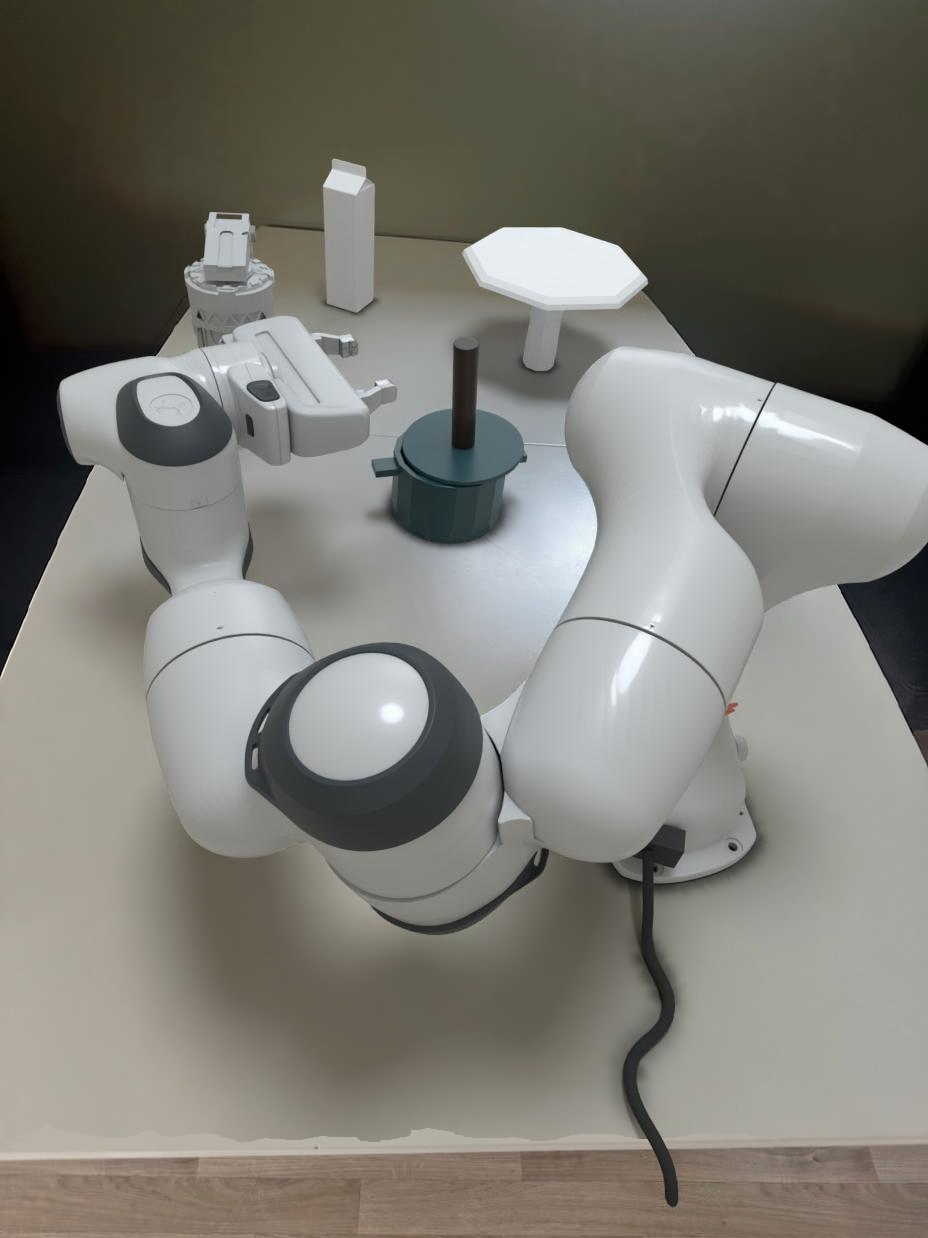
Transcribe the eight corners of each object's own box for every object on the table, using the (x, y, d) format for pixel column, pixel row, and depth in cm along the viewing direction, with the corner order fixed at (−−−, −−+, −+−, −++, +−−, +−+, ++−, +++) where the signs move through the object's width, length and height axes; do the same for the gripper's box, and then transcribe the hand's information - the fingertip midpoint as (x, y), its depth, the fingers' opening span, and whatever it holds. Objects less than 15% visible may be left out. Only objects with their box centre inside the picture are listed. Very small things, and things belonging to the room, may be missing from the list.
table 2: (621, 424, 119) (650, 317, 107) (437, 393, 121) (446, 284, 108) (624, 337, 139) (650, 238, 127) (466, 311, 140) (476, 210, 128)
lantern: (285, 444, 108) (269, 258, 90) (205, 444, 106) (173, 254, 88) (286, 393, 117) (273, 213, 99) (213, 392, 115) (185, 209, 97)
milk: (343, 291, 141) (341, 152, 125) (374, 300, 139) (376, 161, 123) (326, 304, 137) (321, 162, 121) (357, 313, 135) (356, 171, 119)
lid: (467, 507, 90) (472, 397, 79) (377, 452, 96) (369, 343, 85) (547, 450, 97) (561, 342, 86) (458, 402, 103) (461, 296, 93)
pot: (533, 533, 100) (544, 478, 94) (385, 552, 95) (386, 496, 89) (499, 468, 109) (507, 414, 103) (361, 483, 104) (361, 427, 98)
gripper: (213, 367, 85) (335, 346, 90) (280, 477, 73) (416, 445, 78) (204, 310, 80) (334, 291, 85) (275, 417, 68) (419, 388, 74)
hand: (374, 366), depth 82 cm, fingers open, 8 cm apart
